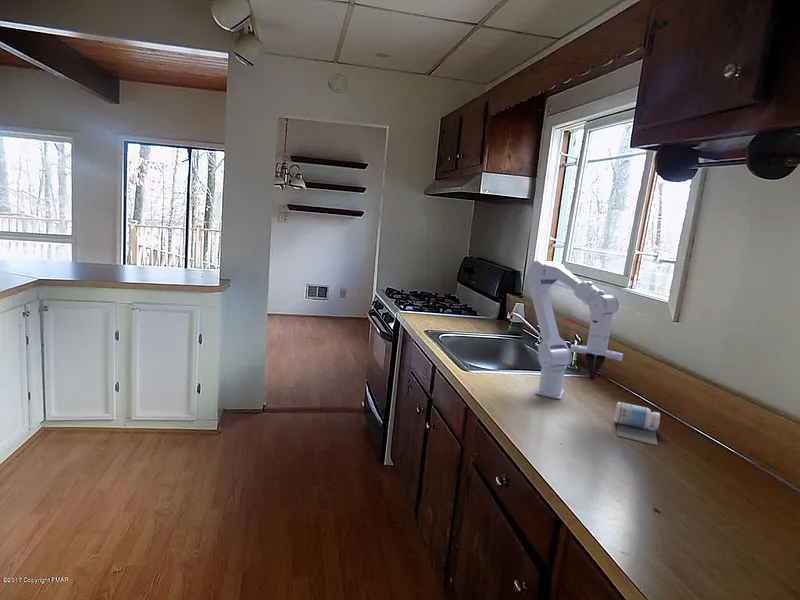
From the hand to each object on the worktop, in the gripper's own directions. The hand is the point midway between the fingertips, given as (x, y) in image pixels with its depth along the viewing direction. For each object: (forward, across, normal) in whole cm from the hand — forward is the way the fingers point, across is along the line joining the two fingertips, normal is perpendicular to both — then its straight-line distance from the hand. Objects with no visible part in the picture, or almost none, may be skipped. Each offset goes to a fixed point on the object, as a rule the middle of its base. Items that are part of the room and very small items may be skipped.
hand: (591, 379), depth 153 cm
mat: (+10, +14, -4) cm, 18 cm away
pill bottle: (+7, +8, -4) cm, 11 cm away
